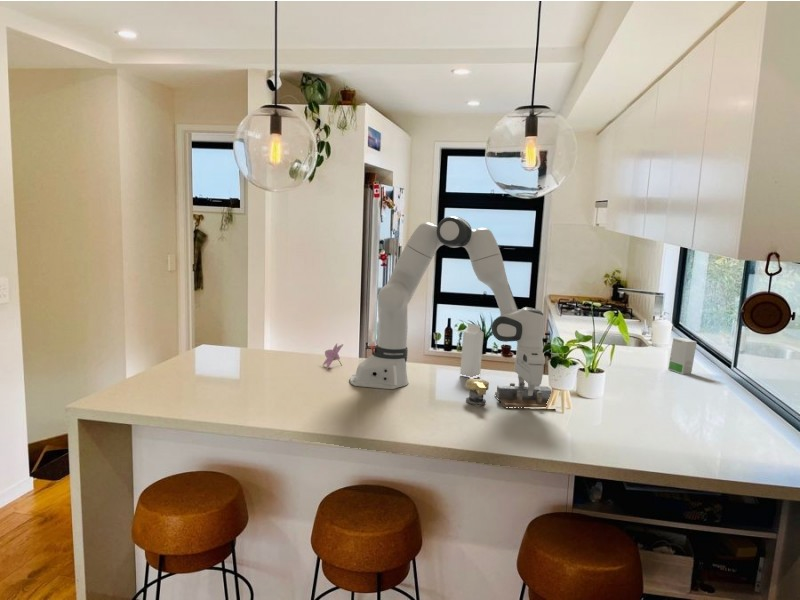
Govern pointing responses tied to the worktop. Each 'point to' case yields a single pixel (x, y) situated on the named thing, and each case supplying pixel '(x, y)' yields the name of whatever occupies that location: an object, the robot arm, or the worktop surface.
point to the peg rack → (523, 401)
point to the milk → (471, 351)
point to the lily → (332, 355)
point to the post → (475, 398)
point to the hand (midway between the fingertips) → (525, 391)
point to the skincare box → (682, 355)
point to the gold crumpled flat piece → (477, 385)
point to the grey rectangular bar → (512, 391)
